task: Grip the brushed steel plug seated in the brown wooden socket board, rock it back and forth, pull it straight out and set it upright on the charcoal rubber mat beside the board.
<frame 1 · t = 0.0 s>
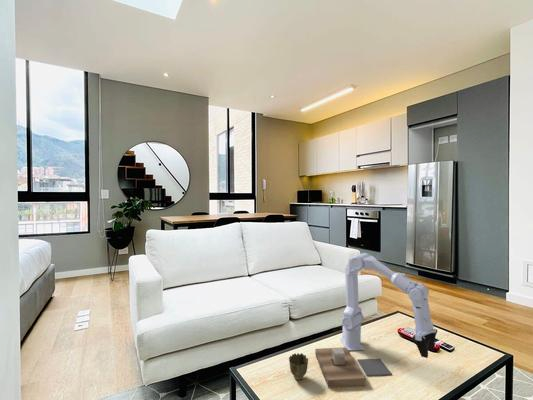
hand: (427, 352, 109), 11 cm above the table, tool pointing down, fingers open, 7 cm apart
plug: (338, 359, 115), in the brown wooden socket board
mat: (373, 367, 116), on the table
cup: (298, 378, 110), on the table
brown wooden socket board: (338, 369, 115), on the table
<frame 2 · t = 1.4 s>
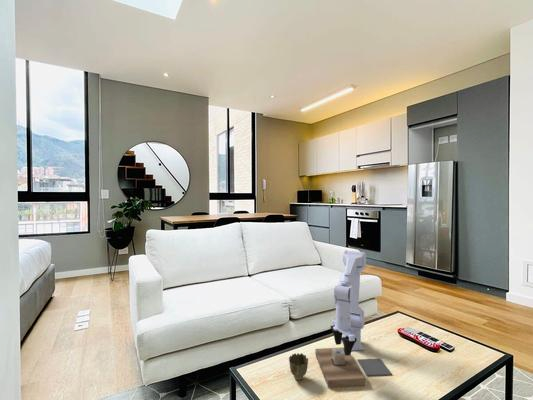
hand: (342, 349, 113), 9 cm above the table, tool pointing down, fingers open, 7 cm apart
nothing on the table moved.
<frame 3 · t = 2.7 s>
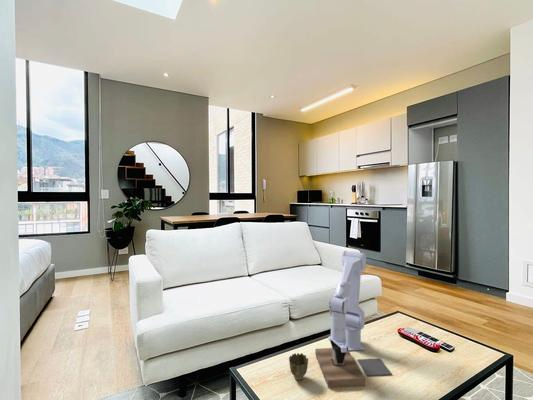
hand: (338, 359, 115), 4 cm above the table, tool pointing down, fingers closed on plug, 4 cm apart
plug: (338, 359, 115), in the brown wooden socket board, touching gripper
everything else where it was.
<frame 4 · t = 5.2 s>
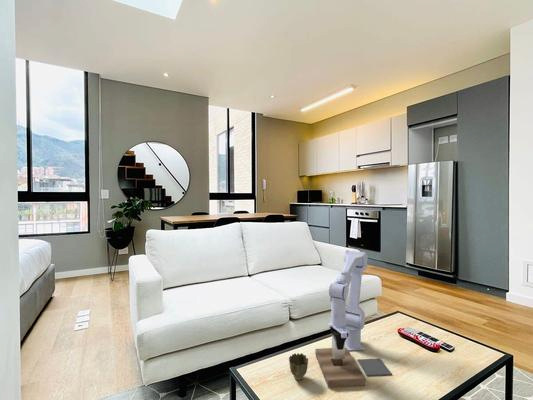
hand: (338, 345, 115), 10 cm above the table, tool pointing down, fingers closed on plug, 4 cm apart
plug: (338, 346, 115), point 10 cm above the table, touching gripper
everything else where it was.
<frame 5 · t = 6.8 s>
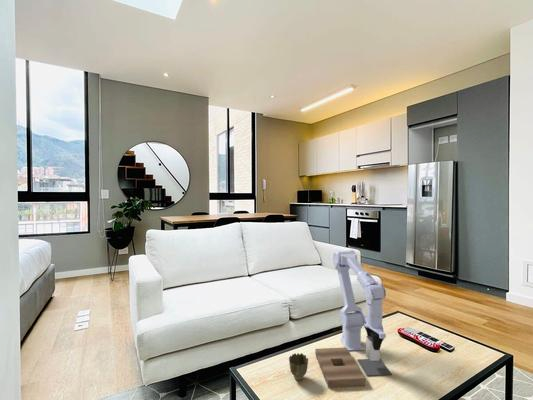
hand: (374, 346, 116), 9 cm above the table, tool pointing down, fingers closed on plug, 4 cm apart
plug: (372, 348, 116), point 8 cm above the table, touching gripper
everything else where it was.
when the fingers open (6 cm above the table, at t = 7.8 s): plug stays where it is, resting on mat.
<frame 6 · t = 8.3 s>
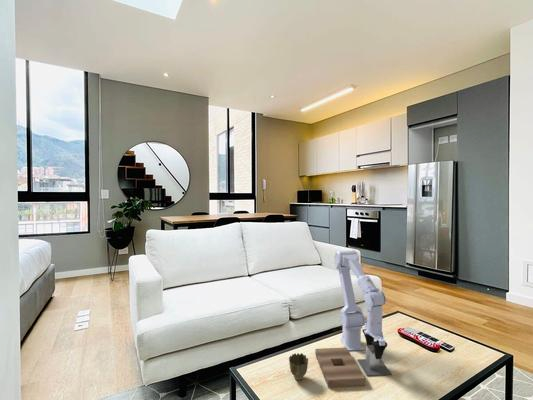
hand: (374, 352, 116), 6 cm above the table, tool pointing down, fingers open, 7 cm apart
plug: (372, 357, 116), on the mat
everything else where it was.
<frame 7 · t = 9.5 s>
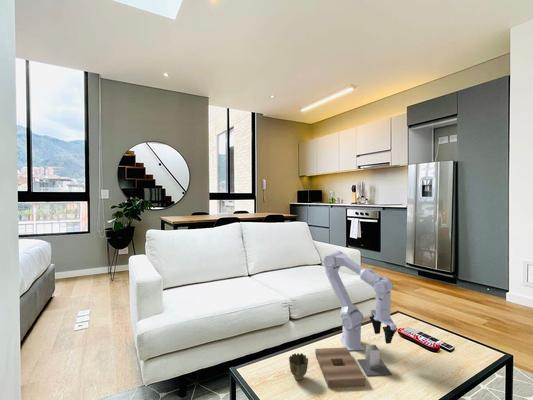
hand: (382, 338, 121), 9 cm above the table, tool pointing down, fingers open, 7 cm apart
nothing on the table moved.
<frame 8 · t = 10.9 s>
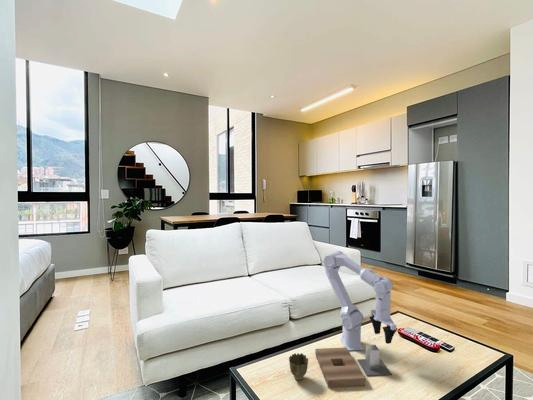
hand: (382, 338, 121), 9 cm above the table, tool pointing down, fingers open, 7 cm apart
nothing on the table moved.
at the end: plug inside the target area (0.6 cm from its centre), point 4.5 cm above the table; plug tilted 0°; the gripper is holding nothing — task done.
